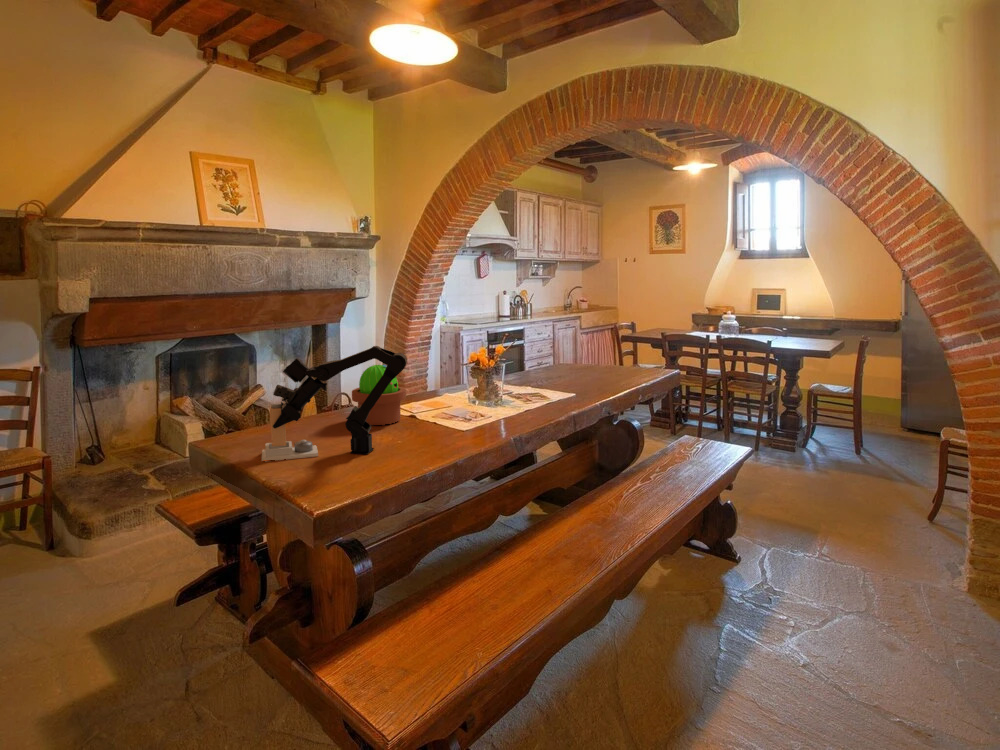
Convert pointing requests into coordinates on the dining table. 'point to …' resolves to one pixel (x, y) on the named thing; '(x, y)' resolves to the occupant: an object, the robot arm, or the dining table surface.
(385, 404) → the potted cactus
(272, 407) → the block
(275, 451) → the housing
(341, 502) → the dining table surface
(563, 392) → the dining table surface
